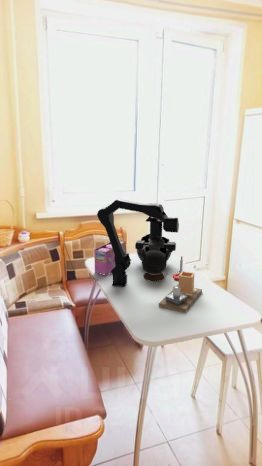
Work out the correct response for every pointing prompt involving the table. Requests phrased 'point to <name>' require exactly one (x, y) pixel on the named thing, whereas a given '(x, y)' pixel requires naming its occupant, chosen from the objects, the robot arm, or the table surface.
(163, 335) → the table surface
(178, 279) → the tow hook
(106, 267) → the gum box
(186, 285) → the tan cardboard box
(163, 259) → the black ball on stand
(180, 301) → the vise
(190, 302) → the board
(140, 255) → the bowl of black rocks
